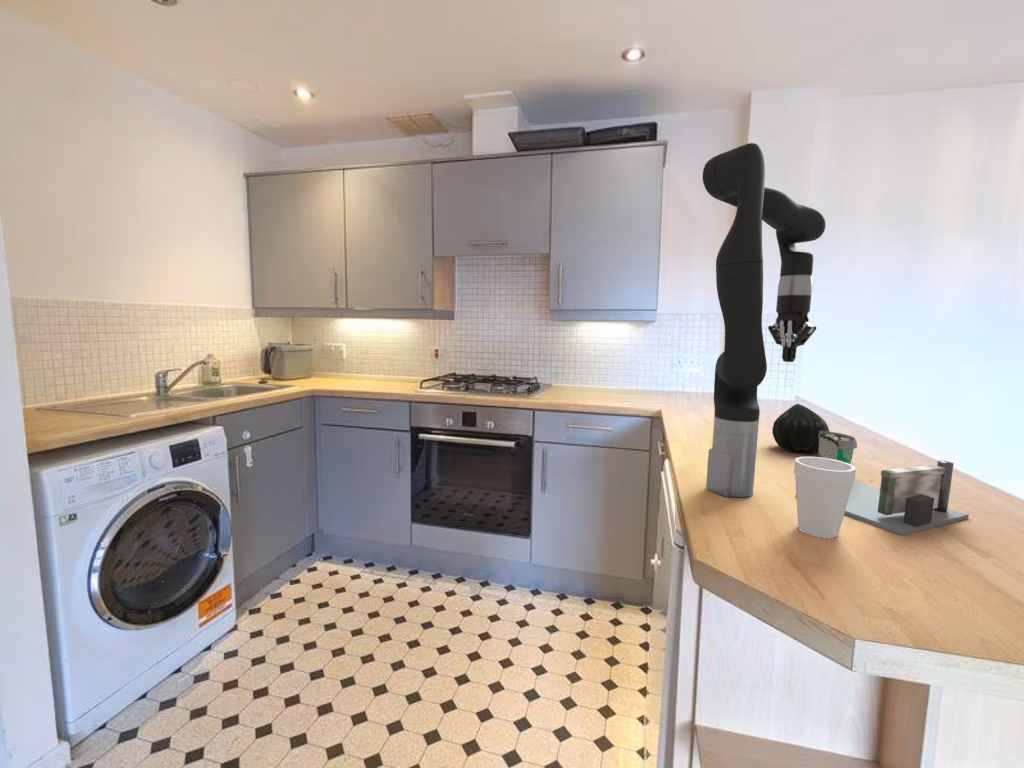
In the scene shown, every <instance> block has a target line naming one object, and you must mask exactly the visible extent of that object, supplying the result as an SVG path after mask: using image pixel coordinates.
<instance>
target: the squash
mask: <svg viewBox="0 0 1024 768" xmlns="http://www.w3.org/2000/svg"><path fill="white" fill-rule="evenodd" d="M820 431H828V432H831V431H830V429H829V425H828V424H827V421H825V419H824V418H822V417H821V416H820V415H819V414H817V413H816V412H815V411H813V410H811V409H809V408H808V407H807V406H805V405H802V404H800V403H796V404H794V405H792V406H791V407H789V408H788V409H787V410H785V411H784V412H783V413H781V414H780V415H778V417H777V418H776V419H775V420H774V421H773V426H772V431H771V432H772V436H773V439H774V441H775V442H776V444H777V445H778V447H780V448H782V449H784V450H786V451H789V452H794V451H797V452H798V451H801V450H803V451H805V452H806V453H808V454H811V455H813V454H818V452H819V438H818V436H819V432H820Z"/></svg>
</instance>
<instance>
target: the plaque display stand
mask: <svg viewBox="0 0 1024 768" xmlns="http://www.w3.org/2000/svg"><path fill="white" fill-rule="evenodd" d="M936 463H937V464H936V466H939V467H943V468H945V473H944V474H942V478H941V485H940V493H939V500H938V508H935V509H933V504H934V498H932V497H929V496H925V495H917V496H913V497H908V498H906V506H905V512H904V513H896V514H892V515H884V514H881V513H878V504H879V495H880V487H877V486H874V485H870V484H867V483H864V482H860V481H855V482H854V483H853V484H852V488H851V492H850V495H849V499H848V502H847V506H846V509H845V513H844V515H845V514H846V515H845V516H848V515H849V516H848V517H850V518H853V517H854V518H853V519H856V518H857V520H859V519H860V520H859V521H862V522H864V521H865V523H867V524H870V525H873V526H876V527H879V528H882V529H884V530H887V531H889V532H892V533H894V534H898V535H900V536H905V535H908V534H913V533H917V532H921V531H924V530H928V529H932V528H937V527H941V526H943V525H948V524H951V523H952V524H953V523H956V522H958V521H963V520H967V519H969V516H970V514H969V513H966V512H962V511H959V510H955V509H952V508H949V501H950V492H951V487H952V485H951V484H952V476H953V470H954V462H952V461H947V460H937V462H936Z"/></svg>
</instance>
